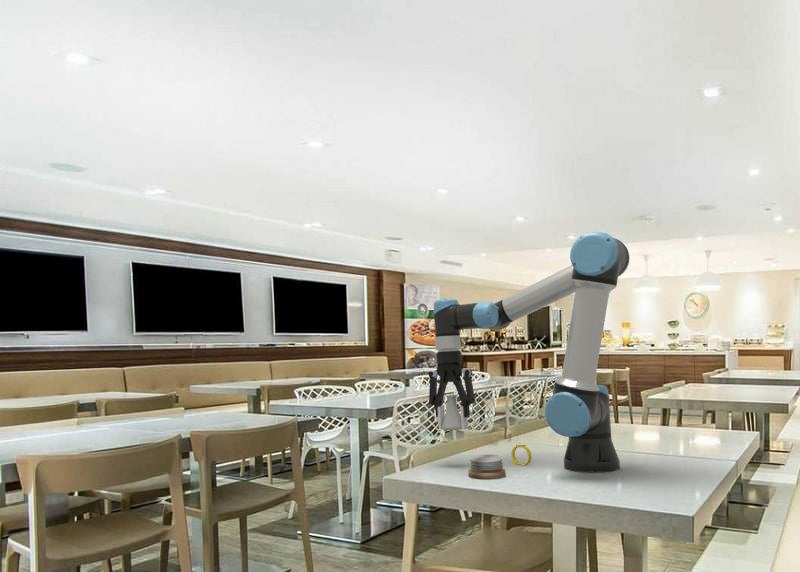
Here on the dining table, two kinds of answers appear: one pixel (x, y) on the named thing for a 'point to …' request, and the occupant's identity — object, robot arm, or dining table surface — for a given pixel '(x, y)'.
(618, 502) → the dining table surface
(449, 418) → the flask
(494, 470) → the pedestal
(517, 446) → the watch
